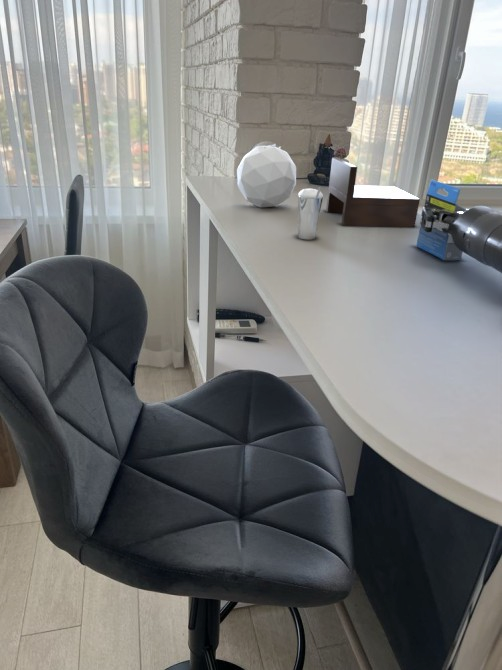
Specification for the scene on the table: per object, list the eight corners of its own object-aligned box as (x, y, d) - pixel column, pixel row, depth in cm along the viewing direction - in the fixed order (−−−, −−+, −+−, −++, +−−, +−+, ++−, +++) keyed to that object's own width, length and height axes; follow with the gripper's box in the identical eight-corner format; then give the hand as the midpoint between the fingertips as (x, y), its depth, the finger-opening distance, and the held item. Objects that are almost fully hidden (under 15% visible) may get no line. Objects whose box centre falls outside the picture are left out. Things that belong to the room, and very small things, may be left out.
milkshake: (303, 242, 94) (308, 187, 89) (290, 235, 98) (295, 182, 93) (324, 241, 95) (331, 186, 91) (311, 233, 100) (316, 181, 95)
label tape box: (461, 260, 88) (480, 188, 83) (441, 261, 87) (459, 188, 82) (432, 246, 96) (448, 179, 91) (413, 246, 95) (428, 178, 89)
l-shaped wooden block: (390, 212, 121) (399, 159, 116) (414, 227, 109) (425, 169, 104) (325, 210, 119) (332, 157, 114) (343, 225, 107) (350, 166, 101)
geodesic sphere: (260, 171, 130) (246, 124, 118) (311, 178, 124) (302, 129, 112) (236, 215, 124) (219, 170, 112) (289, 224, 119) (277, 178, 106)
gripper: (540, 213, 75) (480, 190, 90) (451, 211, 73) (404, 188, 88) (526, 261, 78) (469, 232, 94) (439, 260, 76) (396, 230, 92)
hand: (438, 211), depth 91 cm, fingers closed on label tape box, 4 cm apart
